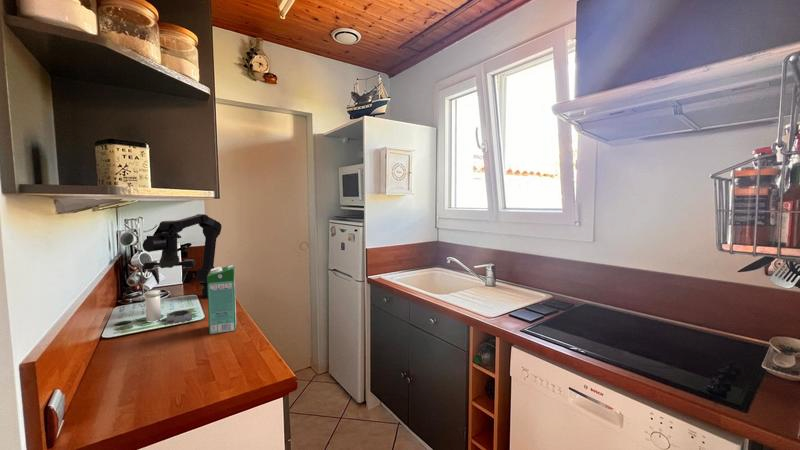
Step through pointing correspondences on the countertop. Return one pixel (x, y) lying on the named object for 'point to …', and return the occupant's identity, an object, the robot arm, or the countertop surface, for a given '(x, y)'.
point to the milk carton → (221, 299)
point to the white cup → (153, 305)
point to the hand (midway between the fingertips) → (170, 283)
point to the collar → (179, 316)
